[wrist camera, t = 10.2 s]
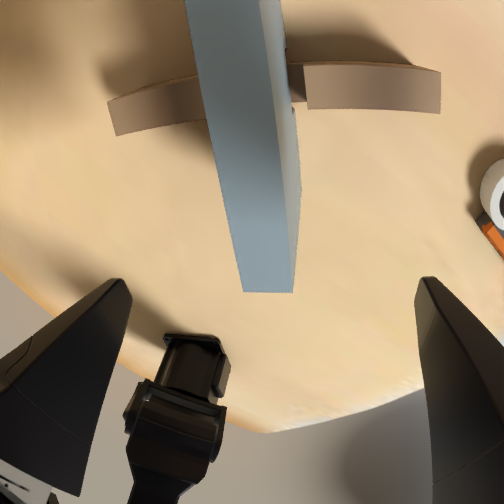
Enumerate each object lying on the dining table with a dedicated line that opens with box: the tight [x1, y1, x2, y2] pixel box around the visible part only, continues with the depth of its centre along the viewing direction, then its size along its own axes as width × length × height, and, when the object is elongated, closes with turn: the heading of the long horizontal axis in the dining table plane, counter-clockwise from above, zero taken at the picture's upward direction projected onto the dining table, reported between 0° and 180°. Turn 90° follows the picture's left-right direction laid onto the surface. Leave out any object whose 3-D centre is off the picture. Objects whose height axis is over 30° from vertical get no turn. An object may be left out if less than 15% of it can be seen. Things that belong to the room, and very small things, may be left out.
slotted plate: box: [184, 0, 302, 293], centre depth 12 cm, size 14×2×9 cm, turn 8°
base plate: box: [107, 61, 441, 136], centre depth 14 cm, size 16×2×4 cm, turn 98°
